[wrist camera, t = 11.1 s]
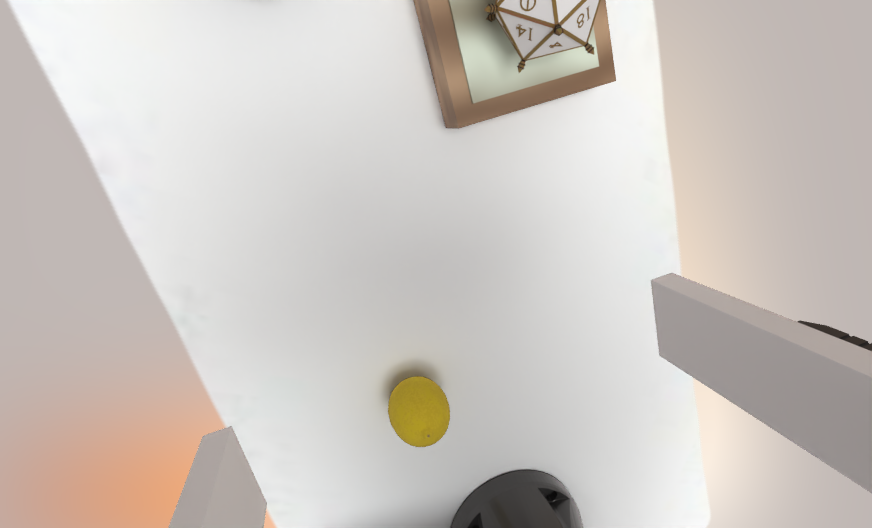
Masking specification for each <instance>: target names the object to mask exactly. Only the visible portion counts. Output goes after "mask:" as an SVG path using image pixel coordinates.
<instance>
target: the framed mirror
mask: <svg viewBox="0 0 872 528" xmlns="http://www.w3.org/2000/svg"><path fill="white" fill-rule="evenodd" d="M495 1H496V0H414V4H415V8H416V12H417V16H418V19H419V23H420V27H421V31H422V35H423V39H424V43H425V47H426V51H427V55H428V59H429V63H430V67H431V71H432V75H433V79H434V83H435V86H436V90H437V94H438V98H439V102H440V106H441V110H442V114H443V118H444V122H445V126H446V128H461V127H465V126H468V125H471V124H475V123H478V122H481V121H485V120H488V119H491V118H495V117H498V116H501V115H504V114H508V113H511V112H514V111H518V110H521V109H524V108H528V107H531V106H534V105H538V104H541V103H544V102H548V101H551V100H554V99H557V98H561V97H564V96H567V95H571V94H574V93H577V92H581V91H584V90H587V89H591V88H594V87H597V86H601V85H604V84H607V83H610V82H614V81H616V77H615V69H614V62H613V54H612V47H611V39H610V32H609V24H608V17H607V9H606V1H605V0H601V2H600V5H599V8H598V11H597V15H596V18H595V21H594V24H593V28H592V31H591V34H590V37H589V41H588V43H589V44H590V45H591V44H592V46H593V47H594V55H593V54H590V53H588V52H587V51H585V50H586V49H585V47H584V46H583V47H579V48H575V49H571V50H567V51H563V52H559V53H555V54H551V55H547V56H543V57H539V58H535V59H531V60H527V61H526V62H525V66H524V69H523V70H522V71H521V72H520V73H519V72H518V67H517V66H518V65H519V63H520V61H521V58H520V56H519V55H518V53H517V51H516V50H515V48H514V47H513V45H512V43H511V42H510V40H509V39H508V37H507V35H506V34H505V32H504V30H503V29H502V27H501V26H500V24H499V22H498V21H497V19H495V21H492V22H490V21H489V20H486V18H487V17H488V15H489V14H490V13H487V12H486V11H485V10H484V9H485V8H486V7H487V6H488V4H490V5H491V4H492V3H493V5H495ZM491 14H492V12H491ZM494 14H495V11H494Z"/></svg>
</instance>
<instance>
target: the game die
mask: <svg viewBox="0 0 872 528" xmlns="http://www.w3.org/2000/svg"><path fill="white" fill-rule="evenodd" d="M600 2H601V0H496V1H495V5H493V3H492V4H491V5H490V4H488V6H487V7H486V8H485V9H484V10H485V11H486V12H487V13H490V14H489V15H488V17H487V18H486V20H489V21H490V22H492V21H495V19H497V21H498V22H499V24H500V26H501V27H502V29H503V30H504V32H505V34H506V35H507V37H508V39H509V40H510V42H511V43H512V45H513V47H514V48H515V50H516V51H517V53H518V55H519V56H520V58H521V61H520V63H519V65H518V66H517V67H518V72H519V73H520V72H521V71H522V70H523V69H524V66H525V62H526V61H527V60H531V59H535V58H539V57H543V56H547V55H551V54H555V53H559V52H563V51H567V50H571V49H575V48H579V47H583V46H584V47H585V49H586V50H585V51H587V52H588V53H590V54H593V55H594V47H593V46H592V44H591V45H590V44H589V43H588V41H589V37H590V34H591V31H592V28H593V24H594V21H595V18H596V15H597V11H598V8H599V5H600ZM494 11H495V14H494ZM491 12H492V14H491Z"/></svg>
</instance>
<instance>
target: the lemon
mask: <svg viewBox="0 0 872 528" xmlns="http://www.w3.org/2000/svg"><path fill="white" fill-rule="evenodd" d="M388 414H389V418H390V422H391V425H392V427H393V428H394V430H395V432H396V433H397V435H398V436H399V437H400V438H401V439H402V440H403V441H404V442H406V443H408V444H410V445H412V446H416V447H426V446H430V445H432V444H434V443H436V442H437V441H439V440H440V439H441V438H442V437H443V435H444V434H445V432H446V430H447V428H448V425H449V421H450V409H449V404H448V401H447V398H446V395H445V393H444V392H443V391H442V389H441V388H440V387H439V386H438V385H437V384H436V383H435V382H433V381H432V380H430V379H428V378H425V377H419V376H416V377H410V378H407V379H405V380H403V381H401V382H400V383H399V384H398V385H397V386H396V387H395V388H394V390H393V391H392V393H391V396H390V399H389V405H388Z"/></svg>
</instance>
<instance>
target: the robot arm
mask: <svg viewBox="0 0 872 528" xmlns="http://www.w3.org/2000/svg"><path fill="white" fill-rule="evenodd" d="M651 286H652V295H653V303H654V312H655V321H656V330H657V339H658V347H659V355H660V356H661V357H663V358H664V359H666V360H667V361H669V362H670V363H672V364H673V365H675V366H676V367H678V368H680V369H681V370H683V371H684V372H686V373H687V374H689V375H690V376H692V377H693V378H695V379H697V380H698V381H700V382H701V383H703V384H704V385H706V386H707V387H709V388H710V389H712V390H713V391H715V392H717V393H718V394H720V395H721V396H723V397H724V398H726V399H727V400H729V401H730V402H732V403H733V404H735V405H737V406H738V407H740V408H741V409H743V410H744V411H746V412H748V413H749V414H750V415H752V416H754V417H755V418H757V419H758V420H760V421H761V422H763V423H764V424H766V425H768V426H769V427H770V428H772V429H774V430H775V431H777V432H778V433H780V434H781V435H783V436H784V437H786V438H787V439H789V440H790V441H792V442H794V443H795V444H797V445H798V446H800V447H801V448H803V449H804V450H806V451H807V452H809V453H811V454H812V455H814V456H815V457H817V458H819V459H820V460H821V461H823V462H825V463H826V464H827V465H829V466H831V467H832V468H834V469H835V470H837V471H838V472H840V473H841V474H843V475H845V476H846V477H848V478H849V479H851V480H852V481H854V482H855V483H857V484H858V485H860V486H861V487H863V488H864V489H866V490H867V491H869V492H871V493H872V344H869V343H868V341H865V340H863V339H860V338H858V337H855V336H852V337H850V336H849V334H847V333H844V332H842V331H839V330H836V329H834V328H831V327H829V326H825V325H820V324H815V323H809V322H804V321H798V322H796V321H793V320H791V319H788V318H785V317H783V316H781V315H778V314H775V313H773V312H770V311H768V310H765V309H763V308H760V307H757V306H755V305H752V304H750V303H747V302H745V301H742V300H740V299H737V298H735V297H732V296H730V295H727V294H725V293H722V292H720V291H717V290H714V289H711V288H709V287H707V286H704V285H702V284H699V283H697V282H694V281H691V280H689V279H686V278H684V277H681V276H679V275H676V274H674V273H670V274H667V275H664V276H661V277H658V278H656V279H653V280H651ZM266 505H267V502H266V500H265V498H264V496H263V494H262V492H261V489H260V487H259V485H258V483H257V481H256V479H255V476H254V474H253V472H252V470H251V468H250V465H249V463H248V461H247V459H246V457H245V455H244V452H243V450H242V448H241V446H240V444H239V441H238V439H237V437H236V435H235V433H234V431H233V428H232V426H230V427H227V428H224V429H222V430H219V431H216V432H213V433H210V434H207V435H205V436H203V437H202V440H201V443H200V445H199V448H198V451H197V453H196V456H195V458H194V461H193V464H192V467H191V469H190V472H189V475H188V477H187V480H186V482H185V485H184V488H183V490H182V493H181V496H180V498H179V501H178V504H177V506H176V509H175V512H174V514H173V517H172V520H171V522H170V525H169V528H263V527H264V520H265V513H266ZM451 528H583V524H582V520H581V516H580V512H579V510H578V507H577V505H576V503H575V501H574V500H573V498H572V497H571V495H570V494H569V492H568V491H567V489H566V488H565V486H564V485H563V484H562V483H561V482H560V481H559V480H557V479H556V478H555V477H553V476H551V475H549V474H546V473H543V472H539V471H531V470H525V471H516V472H511V473H507V474H504V475H501V476H499V477H496V478H494V479H492V480H490V481H488V482H487V483H485V484H484V485H482V486H481V487H479V488H478V489H477V490H476V491H474V492H473V493H472V494H471V495H470V496H469V497H468V498H467V499H466V501H465V502H464V503H463V504H462V506H461V507H460V509H459V510H458V512H457V514H456V516H455V518H454V520H453V523H452V527H451Z"/></svg>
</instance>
